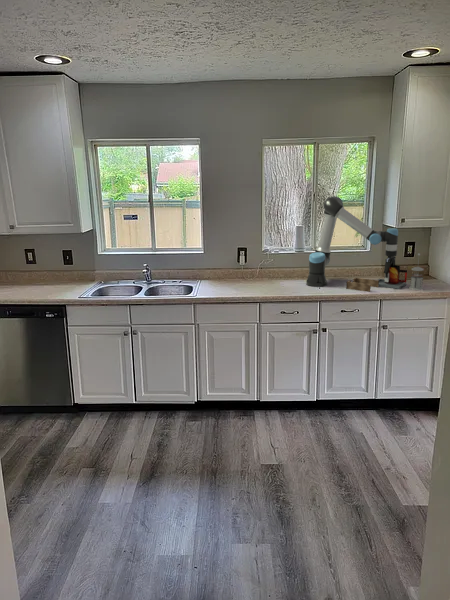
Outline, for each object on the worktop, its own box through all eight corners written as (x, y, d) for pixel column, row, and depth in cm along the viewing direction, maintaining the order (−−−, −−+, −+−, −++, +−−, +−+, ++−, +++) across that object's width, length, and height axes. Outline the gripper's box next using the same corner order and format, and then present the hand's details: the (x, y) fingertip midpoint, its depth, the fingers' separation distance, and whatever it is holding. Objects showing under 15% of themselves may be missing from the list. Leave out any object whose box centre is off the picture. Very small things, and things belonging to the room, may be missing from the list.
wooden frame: (346, 288, 308) (346, 281, 307) (355, 284, 320) (355, 277, 319) (369, 291, 298) (370, 284, 296) (378, 287, 310) (378, 280, 308)
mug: (406, 284, 307) (408, 267, 304) (386, 284, 308) (387, 267, 305) (402, 280, 316) (403, 264, 313) (383, 281, 318) (384, 265, 315)
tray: (371, 285, 315) (371, 282, 314) (379, 281, 327) (379, 278, 326) (398, 289, 302) (399, 286, 302) (406, 284, 314) (406, 281, 314)
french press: (424, 287, 305) (427, 252, 298) (422, 291, 296) (425, 255, 289) (409, 286, 310) (412, 251, 303) (407, 289, 300) (410, 254, 294)
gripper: (391, 252, 297) (388, 284, 303) (401, 248, 314) (399, 278, 319) (380, 251, 302) (378, 282, 308) (391, 247, 318) (389, 277, 324)
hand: (389, 280), depth 314 cm, fingers closed on mug, 9 cm apart
